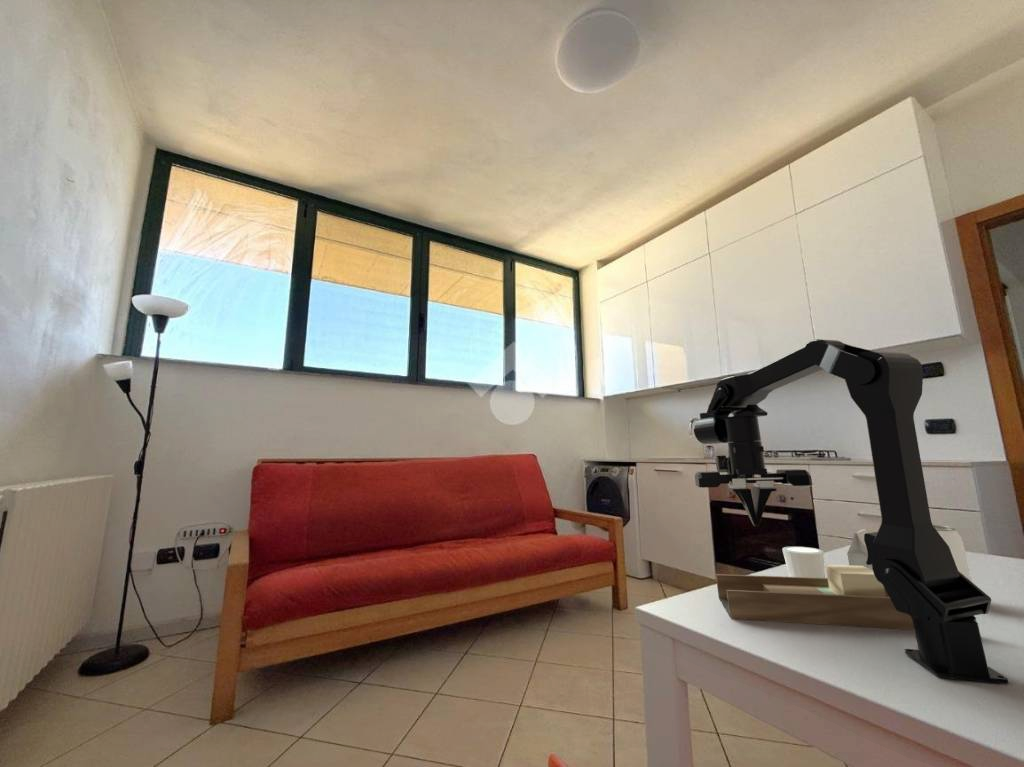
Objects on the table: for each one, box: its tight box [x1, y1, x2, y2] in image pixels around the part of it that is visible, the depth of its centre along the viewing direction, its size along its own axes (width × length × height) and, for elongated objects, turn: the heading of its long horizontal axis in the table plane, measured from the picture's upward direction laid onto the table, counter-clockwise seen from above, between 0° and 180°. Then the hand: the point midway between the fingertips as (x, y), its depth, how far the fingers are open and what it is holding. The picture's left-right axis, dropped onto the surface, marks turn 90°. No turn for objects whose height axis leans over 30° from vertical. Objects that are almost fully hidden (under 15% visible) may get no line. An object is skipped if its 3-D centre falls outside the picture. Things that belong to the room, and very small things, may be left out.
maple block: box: [824, 564, 886, 597], centre depth 67 cm, size 6×6×4 cm
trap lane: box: [715, 573, 914, 631], centre depth 67 cm, size 10×30×4 cm, turn 73°
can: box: [932, 524, 973, 583], centre depth 72 cm, size 6×6×12 cm
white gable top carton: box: [847, 528, 872, 570], centre depth 82 cm, size 4×7×10 cm, turn 126°
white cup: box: [781, 545, 826, 578], centre depth 81 cm, size 7×7×7 cm
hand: (756, 525), depth 76 cm, fingers closed
